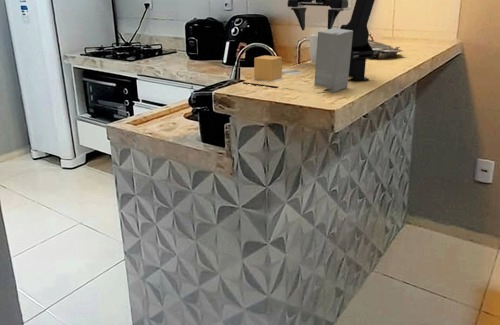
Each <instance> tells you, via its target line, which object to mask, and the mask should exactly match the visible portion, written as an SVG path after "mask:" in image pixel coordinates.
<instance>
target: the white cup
mask: <svg viewBox="0 0 500 325" xmlns="http://www.w3.org/2000/svg"><path fill="white" fill-rule="evenodd" d="M317 39H318V33H316V34H315V33H313V34H309V56H310V64H316V54H317Z"/></svg>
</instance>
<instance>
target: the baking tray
mask: <svg viewBox="0 0 500 325" xmlns="http://www.w3.org/2000/svg"><path fill="white" fill-rule="evenodd" d="M368 42H369V44H370V46H371V48H372V49H373V51H374V53H373V56H372V58H378V59H387V58H391V57H393V56H396V55H397V54H398V53H401V52H403V50H402V49H400V47H401V46H395V47H393V46H391V45H389V44H385V43H383V42H379V41H375V40H371V39H368ZM354 53H356V52H354Z"/></svg>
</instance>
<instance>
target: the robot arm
mask: <svg viewBox="0 0 500 325" xmlns="http://www.w3.org/2000/svg"><path fill="white" fill-rule="evenodd" d="M375 1H376V0H355V3H354V7H353V10H352V13H351V17H350V20H349V22H347V24H341V26H340V27H339V29H345V30H353V37H352V47H351V57H350V67H349V77H351V78H348V82H360V81H361V82H362V81H364V82H365V81H370V79H369V78H368V77H366V73H365V72H366V64H367V63H366V61H367V59H372V58H373V57H372V56H373V53H374V51H373V49H372V48H371V46H370V44H369V42H368V40H369V36H370V33H369V29H368V28H369V27H368V22H369V20H370V16H371V13H372V10H373V7H374V4H375ZM305 6H311V7H312V6H313V7H330V8H329V9H327V30H328V29H332V28H333V26H334V23H335V21H336V19H337V17H338V15H339V14H340V12H342V11H344V10H345V9H347V8H349V0H287V6H286V7H289V8H290V10H291V11H293V12H294V15H295V16H296V18H297V21H298V23H299V26H300V28H301V31H305V29H306V28H305V27H306V12H307V7H305ZM354 52H356V53H354Z"/></svg>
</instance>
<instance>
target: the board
mask: <svg viewBox="0 0 500 325" xmlns="http://www.w3.org/2000/svg"><path fill="white" fill-rule="evenodd" d="M303 72H304V71H301V70H298V69H282V78H280V79H277V80H274V81H266V80H258V79H254V77H252V80H253V81H256V82H263V83H264V82H265V83H266V82H267V83H269V82H274V83H275V82H280V81H283V80H284V79H285V78H284V77H283V76H294V75H301V74H303ZM242 84H243V85H248V84H251V85H250V86H256V85H258V86H257V87H263V86H265V87H266V88H271V89H272V88H273V89H278V88H279V86H278V85H270V84H269V85H268V84H262V83H254V82H246V81H242ZM265 87H264V88H265Z"/></svg>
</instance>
